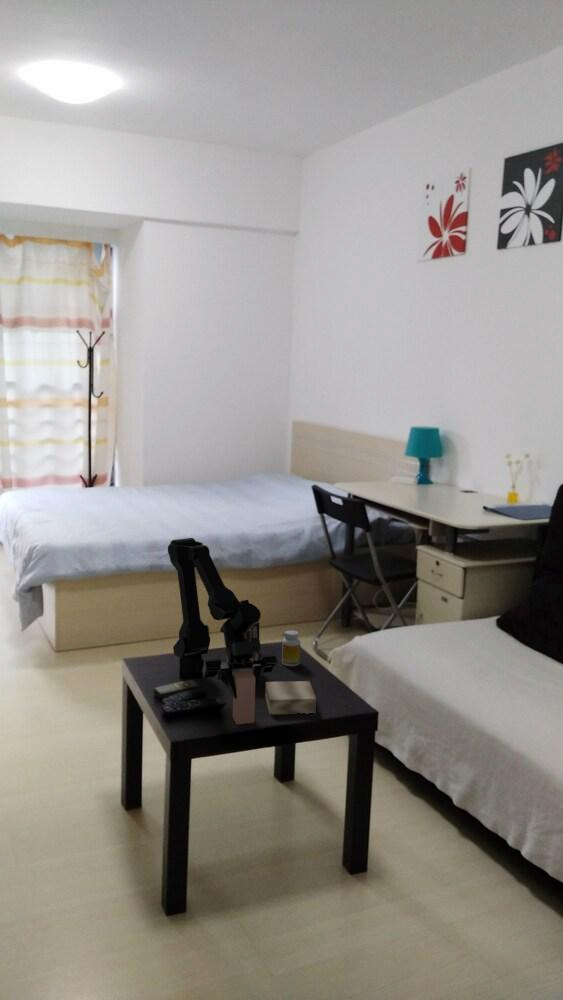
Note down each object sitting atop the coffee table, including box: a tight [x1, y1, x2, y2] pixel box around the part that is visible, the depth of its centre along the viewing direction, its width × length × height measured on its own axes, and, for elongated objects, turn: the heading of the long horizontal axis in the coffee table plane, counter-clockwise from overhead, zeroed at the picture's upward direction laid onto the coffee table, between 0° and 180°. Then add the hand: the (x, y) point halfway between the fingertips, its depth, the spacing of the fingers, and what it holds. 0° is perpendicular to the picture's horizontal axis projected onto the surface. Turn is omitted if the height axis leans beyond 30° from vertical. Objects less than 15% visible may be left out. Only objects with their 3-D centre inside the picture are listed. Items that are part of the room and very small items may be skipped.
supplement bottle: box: [281, 629, 301, 667], centre depth 258 cm, size 5×5×10 cm
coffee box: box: [226, 618, 260, 678], centre depth 249 cm, size 9×6×16 cm
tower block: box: [232, 671, 256, 725], centre depth 218 cm, size 4×4×12 cm
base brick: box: [264, 680, 317, 715], centre depth 229 cm, size 12×12×4 cm
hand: (245, 697), depth 217 cm, fingers closed on tower block, 4 cm apart
